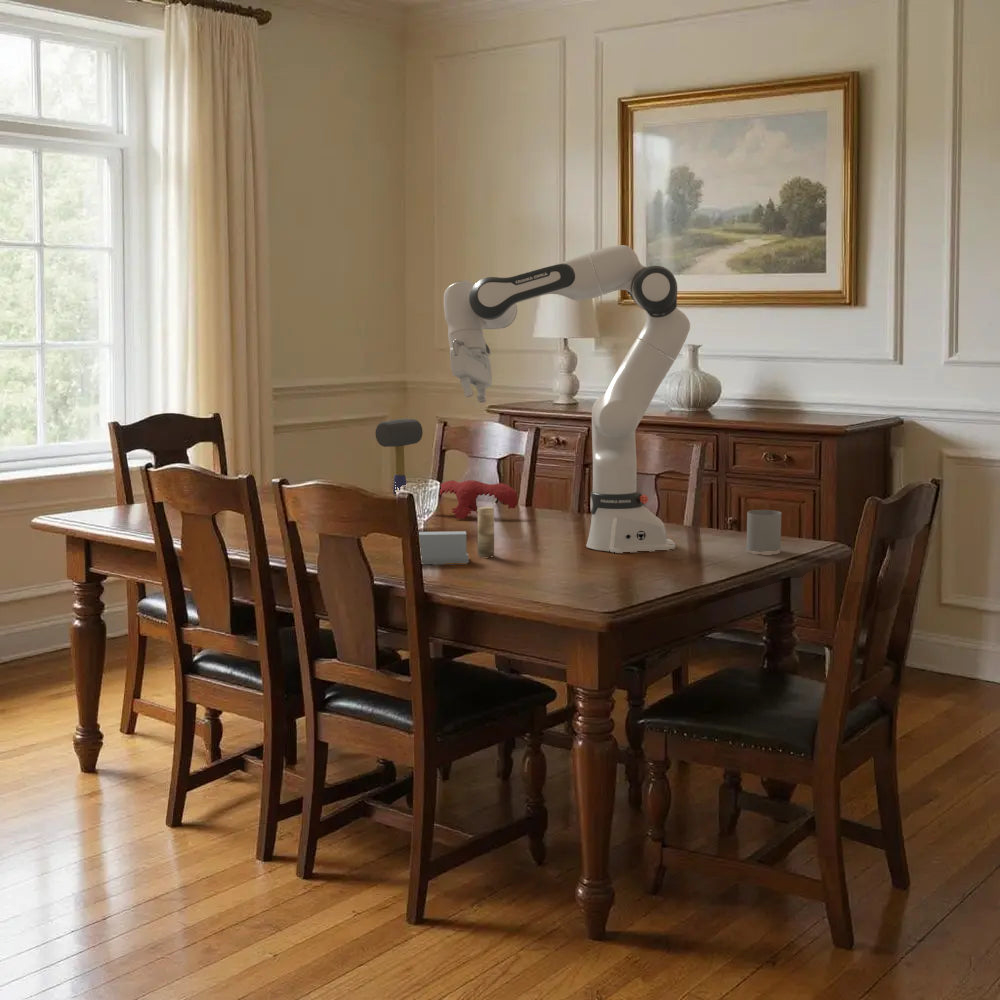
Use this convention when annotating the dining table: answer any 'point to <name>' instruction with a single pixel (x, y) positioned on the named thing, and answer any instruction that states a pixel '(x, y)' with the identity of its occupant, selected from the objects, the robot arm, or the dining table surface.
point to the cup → (763, 530)
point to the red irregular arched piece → (470, 492)
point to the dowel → (485, 531)
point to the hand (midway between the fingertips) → (475, 399)
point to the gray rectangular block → (443, 547)
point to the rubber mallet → (399, 442)
